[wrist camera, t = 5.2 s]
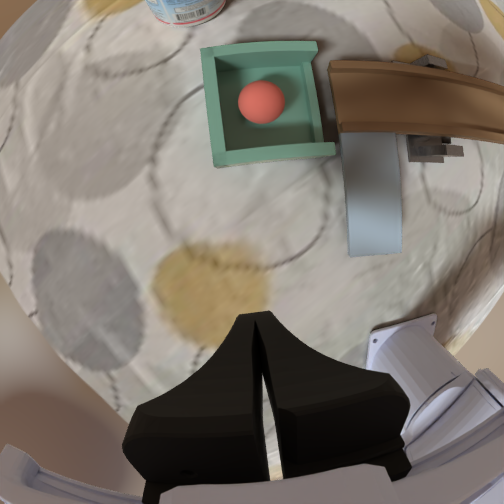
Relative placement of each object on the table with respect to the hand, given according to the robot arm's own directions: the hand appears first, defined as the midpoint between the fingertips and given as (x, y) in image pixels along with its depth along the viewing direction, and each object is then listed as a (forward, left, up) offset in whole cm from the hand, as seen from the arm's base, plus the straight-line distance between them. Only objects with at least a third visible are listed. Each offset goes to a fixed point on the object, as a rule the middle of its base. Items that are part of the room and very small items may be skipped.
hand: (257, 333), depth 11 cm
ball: (+11, -2, -8) cm, 14 cm away
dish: (+11, -3, -10) cm, 15 cm away
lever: (+7, -16, -7) cm, 19 cm away
